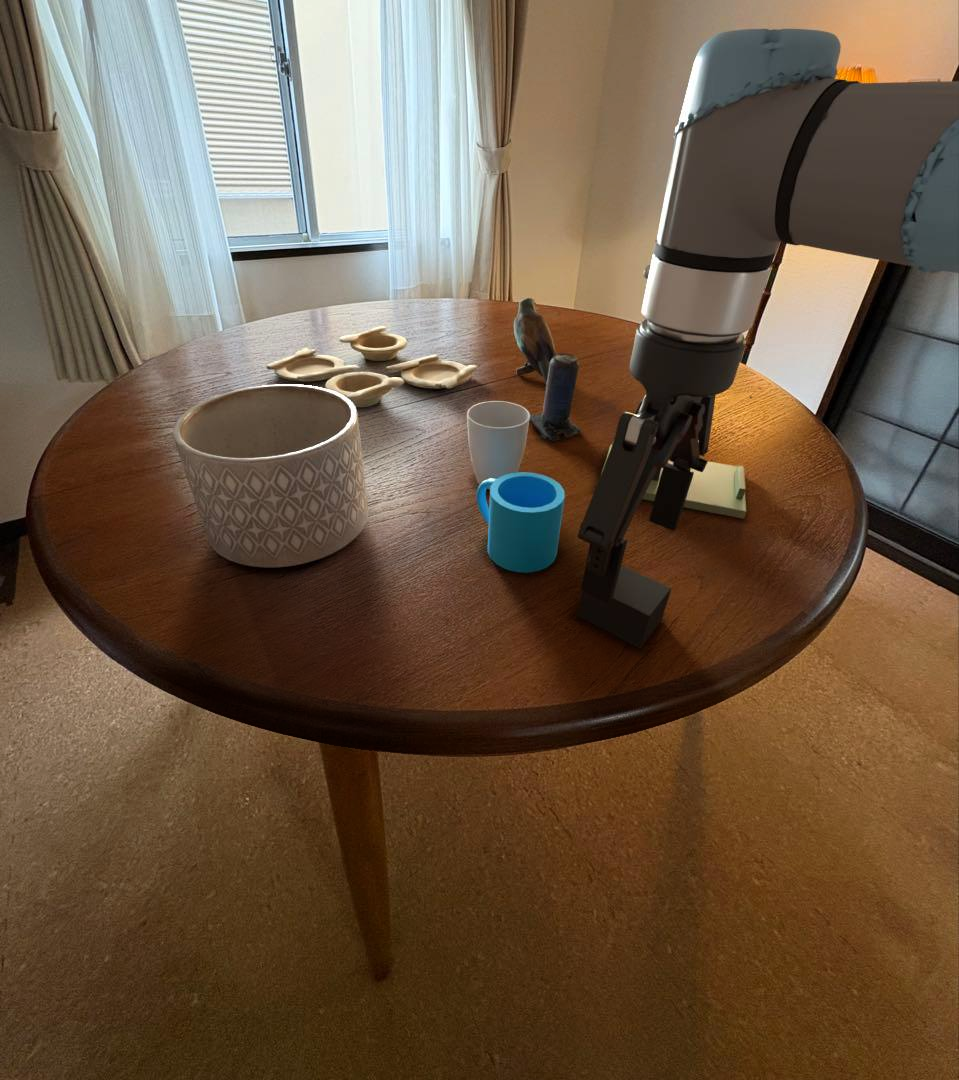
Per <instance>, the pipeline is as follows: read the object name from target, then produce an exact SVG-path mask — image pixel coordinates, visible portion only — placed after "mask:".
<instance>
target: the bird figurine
mask: <svg viewBox="0 0 959 1080" xmlns="http://www.w3.org/2000/svg"><path fill="white" fill-rule="evenodd" d="M536 305H537V302H536V301H535V299H533V298H532V297H525V298H523V299H522V300H520V301H519V303H518V311H517V312H518V313H517V316H516V317H514V320H513V333H514V339H515V341H516V343H517V346H518V348H519V350H520V352H521V353H522V355H523V357H524V358H525V359H526V360H525V362H524V364H523V366H521V367H517V368H516V369H515V373H516V375H517V376H522V375H525V374H528V373H533V372H535V371H536V373H538V374H539V375H540V376H541V377H542V378H543V380H544V383H545V385H547V378H548V372H549V365H550V361H551V359H552V358H553V357H554V355H555V354H557V351H556V348H555V344H554V339H553V336H552V333H551V330H550V328H549V325H548V323H547V319H546V317H545V316H543V315H542V314H541V313H539V312H538V311H537V310H536ZM568 354H569V355H570V354H571V353H568ZM528 363H529V364H528Z"/></svg>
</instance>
